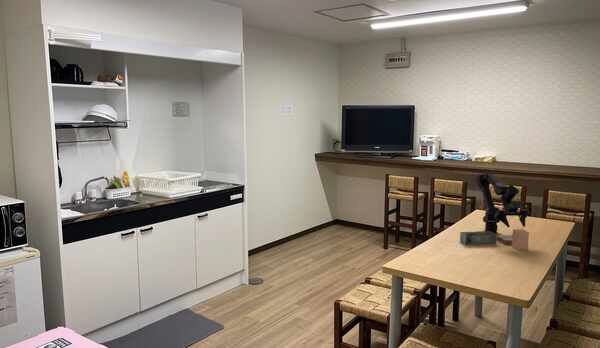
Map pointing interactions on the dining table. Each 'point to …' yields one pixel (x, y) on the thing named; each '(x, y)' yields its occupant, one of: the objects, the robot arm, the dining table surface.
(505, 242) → the walnut block
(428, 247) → the dining table surface
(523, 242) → the reddish brown block
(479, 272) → the dining table surface
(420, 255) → the dining table surface
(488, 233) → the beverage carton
